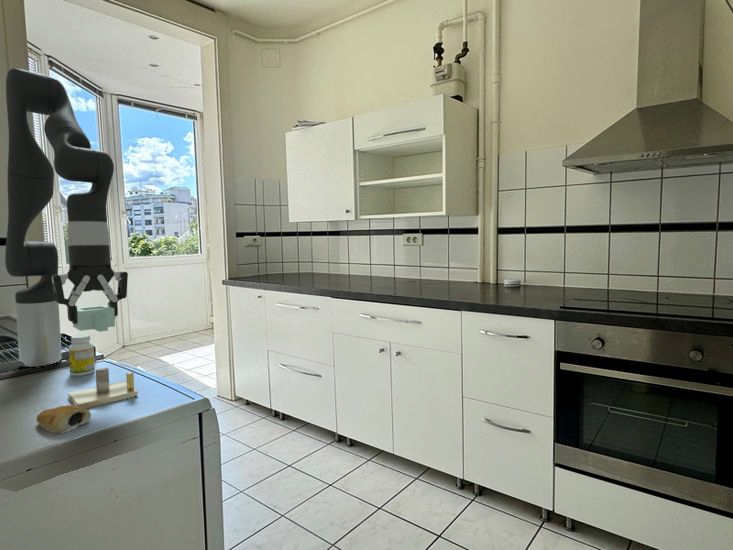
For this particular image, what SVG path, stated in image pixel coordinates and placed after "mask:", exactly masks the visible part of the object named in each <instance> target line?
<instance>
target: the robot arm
mask: <svg viewBox="0 0 733 550" xmlns="http://www.w3.org/2000/svg"><path fill="white" fill-rule="evenodd" d="M5 97H6V98H5V99H6V111H7V123H8V124H7V126H8V155H7V156H8V158H7V207H8V211H7V213H8V216H7V217H8V218H7V227H6V228H7V232H6V241H5V250H4V251H5V253H4V254H5V255H4V259H5V261H4V264H5V268H6V269H5V270H6V272H7V274H8V275H9V276H11V277H15V278H16V277H21V278H22V277H39V276H40V279H39V280H38V281H37V282H36V283H34V284H32V285H31V286H30V285H29V286H28V287H25V288H22V289H20V290H18V291H16V293H15V295H14V297H15V298H14V299H15V313H16V327H17V329H16V330H17V342H18V343H17V345H18V346H17V347H18V360H19V361H21V362H23V363H24V365H26V366H29V367H31V366H39V365H47V364H52V363H56V362H58V361H60V360H61V359H62V342H61V341H62V340H61V321H60V320H61V319H60V318H61V317H60V305H64V306H66V308H67V310H66V311H67V312H66V313H67V320H68V321H69V322H71V324H72V325H73V324H77V323H78V321H77V308H78V306H77V305H76V304H77V302H78V300H79V299H80V297H81V296H82V294H83V292H85V293H86V292H92V291H98V292H99V291H101V292H102V293H103V294H104V295H105V296H106V298H107V299H108V302H107V306H109V307H112V308H114V315H115V317H118V315H119V308H118V307H119V306H118V302H120V300H123V299H126V297H127V294H128V279H129V277H128V275H129V273H128V272H127V271H114V270H113V269H112V268H113V267H112V263H111V261H112V260H111V257H112V256H111V238H110V231H109V225H108V214H107V212H108V211H107V204H108V203H107V201H108V197H109V196H108V195H109V191H110V186H111V183H112V178H113V176H114V170H115V166H114V162H113V159H112V158H111V156H110V155H109V154H108V153H107V152H106V151H104V150H99V149H92V144H91V142H90V140H89V138H88V137H87V135H86V134H85V132H84V131H83V129H82V127H81V126H80V125H79V123H78V121H77V119H76V116H75V113H74V109H73V106H72V103H71V100H70V98H69V95H68V93H67V90H66V88H65V86H64V84H63V83H62V82H61V81H60V80H59V79H58V78H56V77H53V76H50V75H46V74H43V73H39V72H34V71H30V70H26V69H22V68H17V67H14V68H13V67H12V68H10V69H9V70H8V72H7V75H6V78H5ZM27 113H34V114H39V115H44V116H48V117H47V118H46V120H45V122H44V125H43V126H44V127H43V129H44V130H43V131H44V134H45V137H46V139H47V140H48V143H49V144H50V145H51V147H52V149H53V154H54V155H53V156H54V158H53V165H52V163H51V161H50V160H49V158H48V157H47V155H46V154H45V152H44V151H43V149H42V148H41V146H40V145H39V143H38V142H37V140H36V138H35V137H34V135H33V133H32V130H31V128H30V125H29V121H28V115H27ZM55 173H56V174H57V175H58V176H59V177H60V178H62V179H64V180H65V181H69V182H78V183H80V182H81V183H89V184H91V187H90V189H89V191H86V192H77V193H71V194H69V195H68V196H67V198H66V209H67V212H66V213H67V221H68V223H67V230H66V231H67V232H66V234H67V236H66V237H67V249H68V250H67V251H68V266H69V269H68V271H67V273H64V274H59V254H58V249H57V246H56V245H55V243H54V242H52V241H42V240H41V241H35V240H34V241H25V239H26V236H27V233H28V229H29V228H30V226H31V225H32V223H33V221H34V220H35V219H36V218H37V216H38V215H39V214H40V213H41V212H42V211H44V209H45V208H46V206H47V205H49V203H50V201H51V200H52V198H53V195H54V190H55V189H54V187H55V186H54V185H55V183H54V182H55ZM113 277H114V278H115V281H117V293H116V294H115V292H114V290H113V288H112V287H111V285H110V284H109V283H110V281H112V279H113ZM67 279H68V280H69V281H70V282H71V283H72V284H73V288H72V289H71V290H70V292H69V293H70V294H69V296H68V298H65V295H64V294H65V293H64V288H63V286H64V285H66V281H67Z"/></svg>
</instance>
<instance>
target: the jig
mask: <svg viewBox="0 0 733 550" xmlns="http://www.w3.org/2000/svg"><path fill="white" fill-rule="evenodd" d="M109 372H110V371H109V368H108V367H100V368H95V387H89V388H84V389H79V390H76V391H75V390H74V391H71V392H68V394H67V395H68V396H67V397H68V399H69V401H70V402H71V403H72V405H75V406H78V407H81V408H82V407H84V408H85V409H90V408H93V407H94V408H95V407H98V405H99V406H102V404H103V405H107V404H111V403H115V401H116V402H119V400H120V401H123V400H122V399H124V400H127V399H126V398H128V399H131V398H130V397H132V398H135V397H134V396H137V395H138V390H137V389H136V388H134V391H127V381H126V380H125V381H123V380H122V381H118V382H114V383H110V376H109V375H110V373H109ZM137 397H138V396H137ZM110 402H111V403H110ZM106 403H107V404H106Z"/></svg>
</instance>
